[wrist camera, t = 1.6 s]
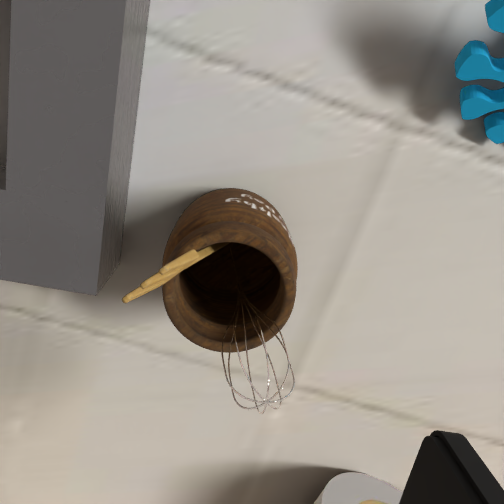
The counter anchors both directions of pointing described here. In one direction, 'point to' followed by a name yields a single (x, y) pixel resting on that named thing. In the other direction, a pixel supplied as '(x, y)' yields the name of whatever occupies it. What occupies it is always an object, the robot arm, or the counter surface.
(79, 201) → the hollow square block
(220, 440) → the counter surface
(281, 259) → the utensil holder
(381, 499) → the toilet paper
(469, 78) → the gear
